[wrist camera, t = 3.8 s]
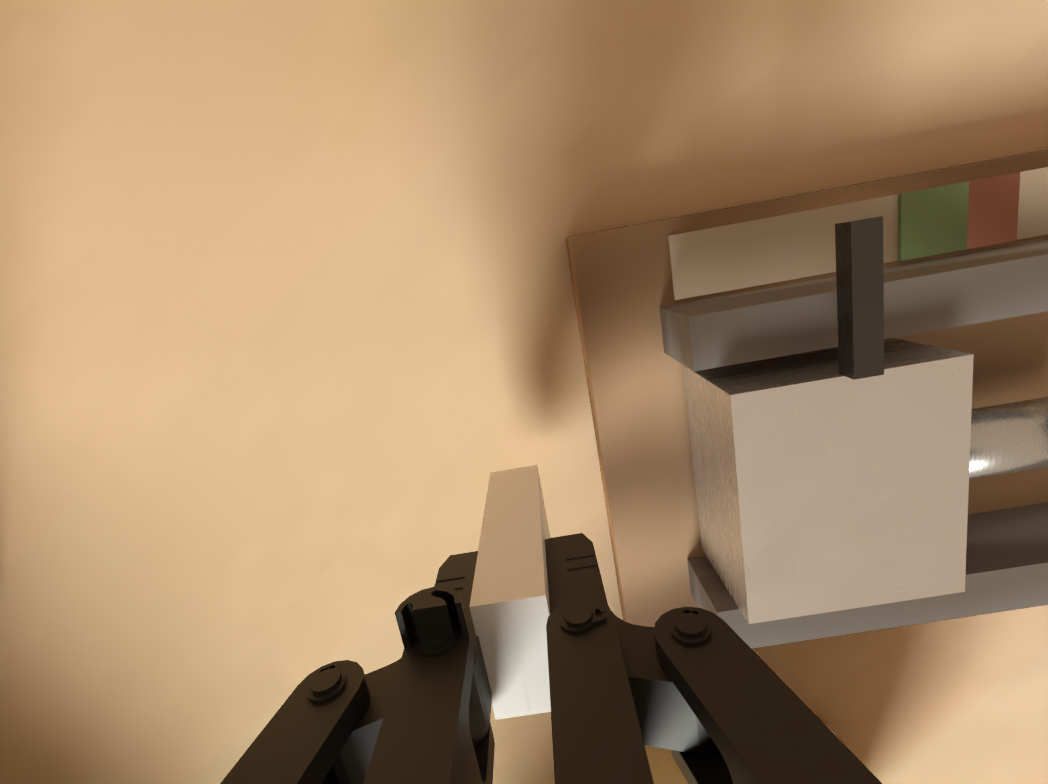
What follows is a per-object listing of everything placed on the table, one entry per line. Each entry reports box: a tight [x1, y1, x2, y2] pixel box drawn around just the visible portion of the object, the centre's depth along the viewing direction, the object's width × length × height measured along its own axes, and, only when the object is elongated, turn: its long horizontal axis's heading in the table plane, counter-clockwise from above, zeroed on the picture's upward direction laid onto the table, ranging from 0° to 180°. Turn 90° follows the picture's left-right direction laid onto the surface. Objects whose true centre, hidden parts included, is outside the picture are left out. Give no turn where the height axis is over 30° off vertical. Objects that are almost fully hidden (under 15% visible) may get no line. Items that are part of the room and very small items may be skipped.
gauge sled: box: [683, 216, 1048, 624], centre depth 15 cm, size 10×11×5 cm
